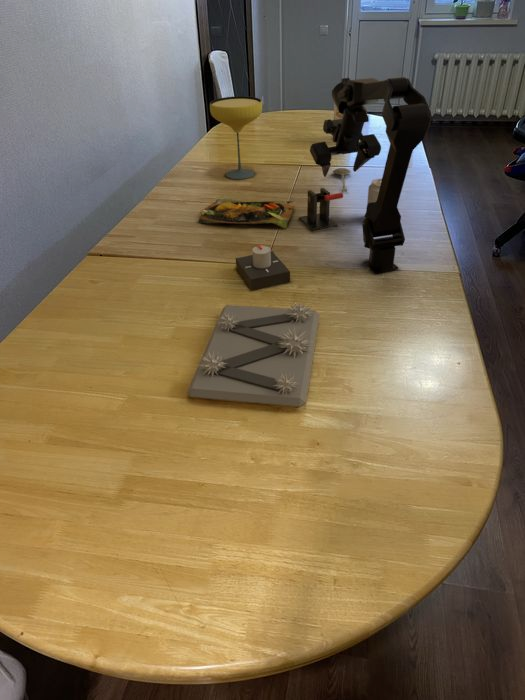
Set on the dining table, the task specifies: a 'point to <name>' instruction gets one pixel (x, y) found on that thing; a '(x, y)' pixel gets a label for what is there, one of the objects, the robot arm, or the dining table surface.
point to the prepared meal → (248, 212)
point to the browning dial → (261, 256)
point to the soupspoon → (342, 172)
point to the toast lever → (328, 197)
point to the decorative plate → (258, 356)
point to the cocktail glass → (237, 122)
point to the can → (374, 190)
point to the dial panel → (262, 272)
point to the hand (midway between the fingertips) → (339, 173)
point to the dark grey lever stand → (314, 219)
